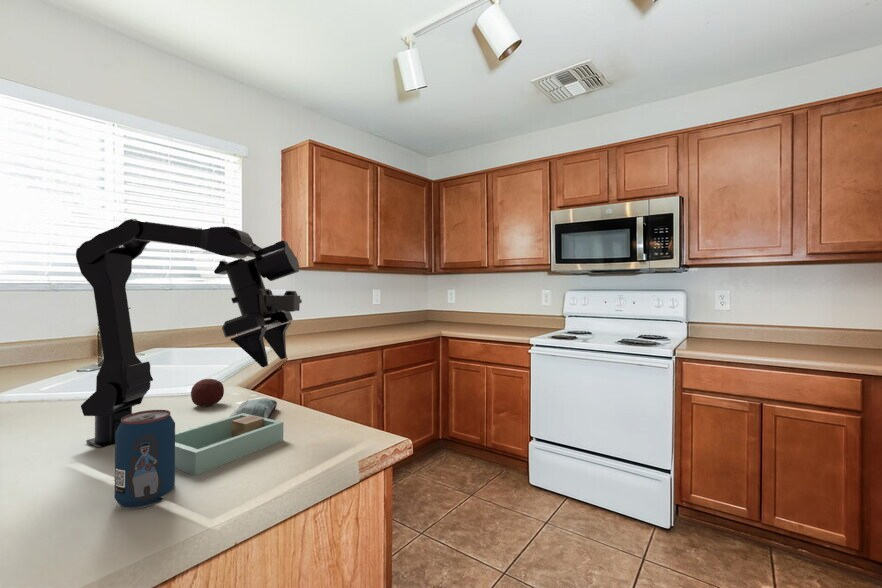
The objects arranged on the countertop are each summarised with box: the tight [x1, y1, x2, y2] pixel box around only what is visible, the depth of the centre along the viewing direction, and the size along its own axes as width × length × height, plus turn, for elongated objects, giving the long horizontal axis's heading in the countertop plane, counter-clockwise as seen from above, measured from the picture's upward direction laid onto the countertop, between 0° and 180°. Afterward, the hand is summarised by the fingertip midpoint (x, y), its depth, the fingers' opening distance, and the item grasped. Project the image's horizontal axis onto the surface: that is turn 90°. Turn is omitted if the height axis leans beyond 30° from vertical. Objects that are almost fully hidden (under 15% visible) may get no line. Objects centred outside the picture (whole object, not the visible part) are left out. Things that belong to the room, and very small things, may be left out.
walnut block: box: [232, 415, 264, 438], centre depth 77 cm, size 4×4×4 cm
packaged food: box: [228, 397, 278, 419], centre depth 92 cm, size 9×12×5 cm
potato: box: [190, 378, 225, 408], centre depth 104 cm, size 7×8×7 cm
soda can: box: [114, 409, 176, 510], centre depth 57 cm, size 7×7×12 cm
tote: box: [175, 413, 284, 476], centre depth 73 cm, size 12×17×4 cm
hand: (275, 362), depth 80 cm, fingers open, 9 cm apart
